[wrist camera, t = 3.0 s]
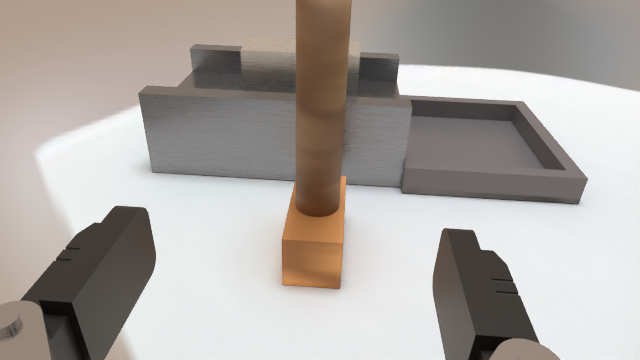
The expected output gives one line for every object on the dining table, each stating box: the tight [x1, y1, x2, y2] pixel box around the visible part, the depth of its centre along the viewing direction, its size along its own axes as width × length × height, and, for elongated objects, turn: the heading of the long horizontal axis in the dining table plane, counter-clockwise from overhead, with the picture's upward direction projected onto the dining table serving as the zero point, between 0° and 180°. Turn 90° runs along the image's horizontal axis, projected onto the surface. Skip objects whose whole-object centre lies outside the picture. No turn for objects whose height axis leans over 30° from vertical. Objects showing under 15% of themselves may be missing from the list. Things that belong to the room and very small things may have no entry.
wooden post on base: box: [282, 0, 352, 289], centre depth 23 cm, size 3×6×15 cm, turn 176°
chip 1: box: [346, 41, 360, 97], centre depth 35 cm, size 4×4×4 cm
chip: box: [240, 36, 296, 94], centre depth 36 cm, size 4×4×4 cm
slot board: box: [138, 44, 412, 187], centre depth 37 cm, size 18×12×6 cm
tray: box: [400, 95, 588, 204], centre depth 37 cm, size 12×14×2 cm
